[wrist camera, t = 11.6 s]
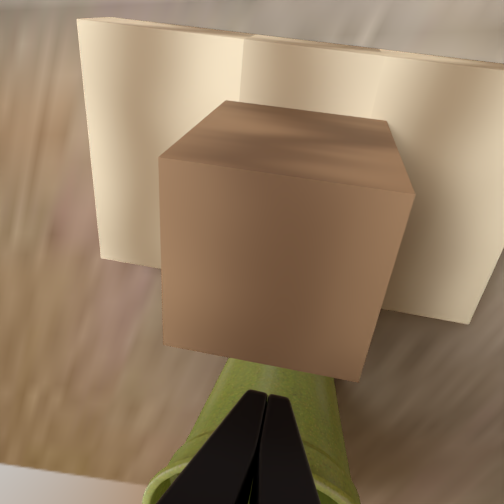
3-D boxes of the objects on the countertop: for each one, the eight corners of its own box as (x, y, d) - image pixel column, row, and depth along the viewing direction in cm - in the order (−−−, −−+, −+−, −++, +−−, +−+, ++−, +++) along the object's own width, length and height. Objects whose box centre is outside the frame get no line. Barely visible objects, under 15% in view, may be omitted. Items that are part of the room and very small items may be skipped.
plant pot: (375, 428, 25) (390, 604, 18) (226, 433, 28) (185, 588, 21) (350, 300, 21) (355, 459, 14) (177, 319, 24) (103, 462, 16)
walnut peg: (380, 105, 16) (415, 194, 9) (351, 231, 19) (358, 382, 12) (240, 88, 17) (158, 157, 9) (231, 213, 20) (163, 344, 12)
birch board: (546, 68, 15) (580, 79, 13) (454, 290, 20) (468, 324, 18) (110, 16, 17) (76, 18, 14) (124, 232, 21) (101, 258, 19)
